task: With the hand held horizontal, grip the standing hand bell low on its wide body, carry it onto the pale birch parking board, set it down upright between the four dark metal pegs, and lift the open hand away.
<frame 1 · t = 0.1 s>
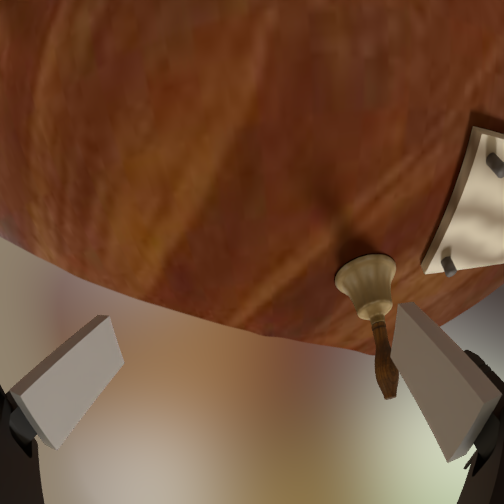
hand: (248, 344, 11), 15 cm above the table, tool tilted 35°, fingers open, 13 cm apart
parking board: (500, 208, 23), on the table
hand bell: (365, 273, 33), on the table
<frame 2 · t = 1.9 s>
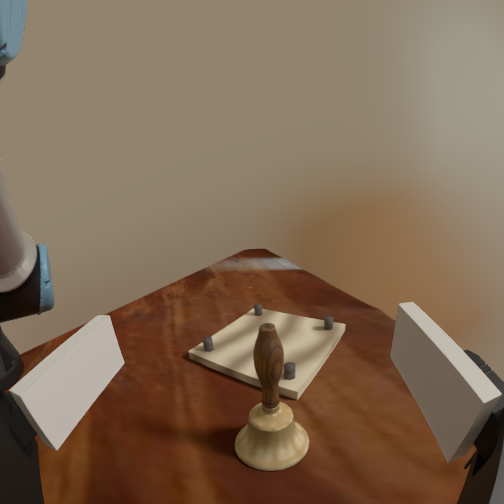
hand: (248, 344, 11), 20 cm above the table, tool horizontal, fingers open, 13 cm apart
parking board: (271, 347, 46), on the table
hand bell: (272, 444, 25), on the table
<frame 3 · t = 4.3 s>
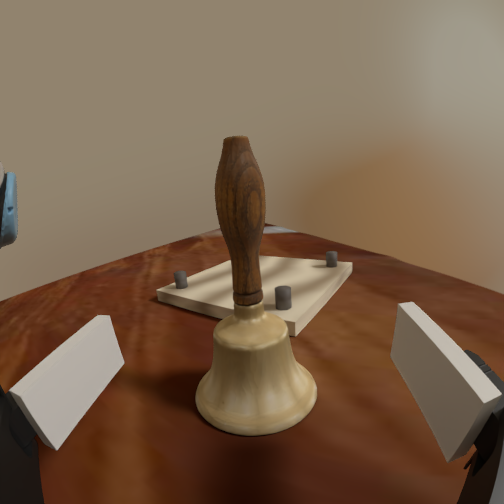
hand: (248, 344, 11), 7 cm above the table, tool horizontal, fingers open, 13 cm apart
parking board: (261, 287, 38), on the table
hand bell: (256, 394, 17), on the table
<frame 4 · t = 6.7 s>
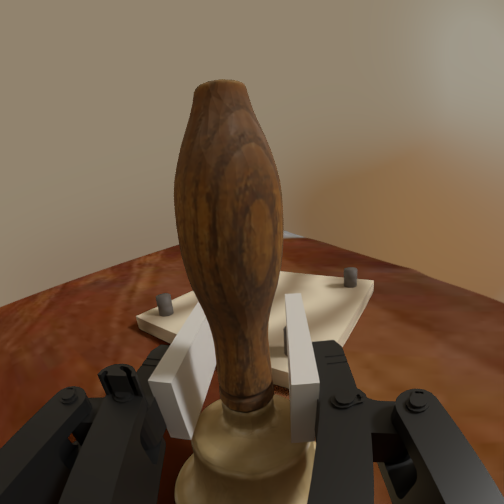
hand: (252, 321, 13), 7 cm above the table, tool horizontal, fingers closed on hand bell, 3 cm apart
parking board: (264, 313, 30), on the table
hand bell: (259, 489, 10), on the table, touching gripper
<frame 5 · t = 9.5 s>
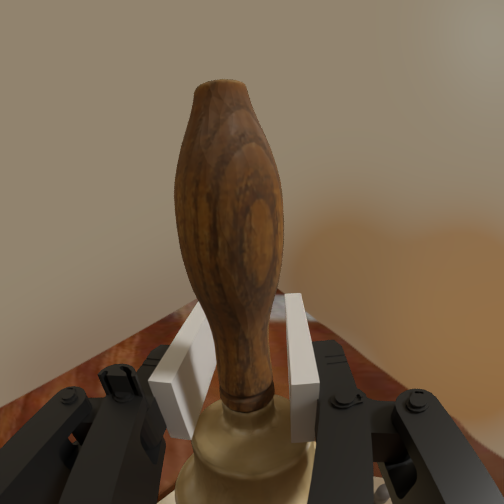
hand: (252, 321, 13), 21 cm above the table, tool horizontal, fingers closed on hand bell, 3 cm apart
hand bell: (259, 489, 10), point 14 cm above the table, touching gripper
when the fingers open (9 cm above the table, at t = 12.6 s): hand bell stays where it is, resting on parking board.
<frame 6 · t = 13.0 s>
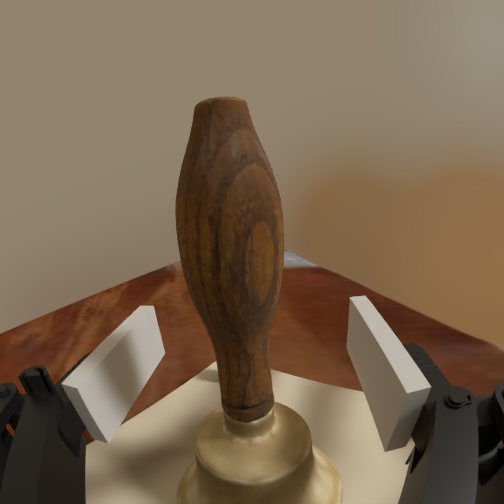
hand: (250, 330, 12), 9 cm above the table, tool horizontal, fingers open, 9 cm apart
parking board: (258, 501, 10), on the table
hand bell: (259, 492, 10), point 1 cm above the table, touching parking board
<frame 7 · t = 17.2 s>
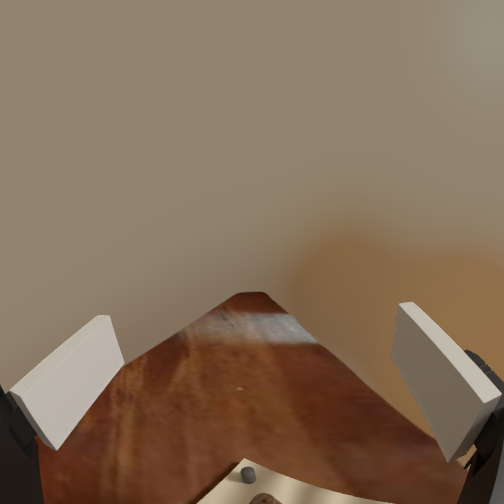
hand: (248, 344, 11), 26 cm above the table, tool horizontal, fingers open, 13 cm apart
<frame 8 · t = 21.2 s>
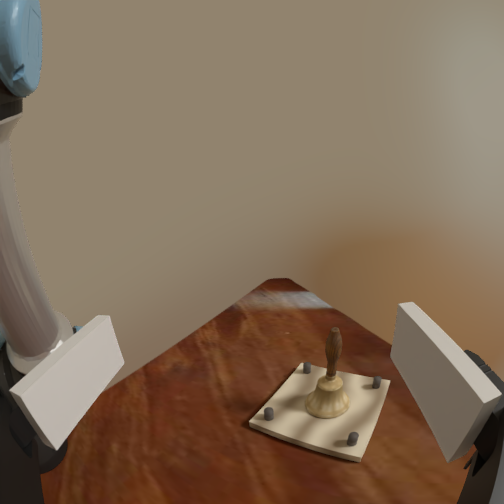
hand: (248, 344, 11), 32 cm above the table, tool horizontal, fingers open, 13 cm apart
parking board: (326, 408, 43), on the table
hand bell: (327, 403, 43), point 1 cm above the table, touching parking board
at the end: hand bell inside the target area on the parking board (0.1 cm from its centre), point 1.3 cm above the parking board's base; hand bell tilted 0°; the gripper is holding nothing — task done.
